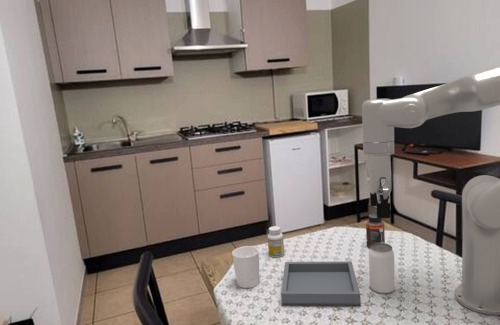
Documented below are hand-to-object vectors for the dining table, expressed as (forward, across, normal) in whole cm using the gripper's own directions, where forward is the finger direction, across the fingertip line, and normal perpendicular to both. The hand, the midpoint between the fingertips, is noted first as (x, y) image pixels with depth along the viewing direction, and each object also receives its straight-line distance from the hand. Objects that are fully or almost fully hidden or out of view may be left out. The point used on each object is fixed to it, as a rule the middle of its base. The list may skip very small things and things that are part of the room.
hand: (379, 211), depth 96 cm
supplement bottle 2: (+22, -27, +3) cm, 35 cm away
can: (+22, 0, 0) cm, 22 cm away
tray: (+22, 0, -17) cm, 28 cm away
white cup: (+22, -3, -38) cm, 44 cm away
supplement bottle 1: (+22, -22, -31) cm, 44 cm away
